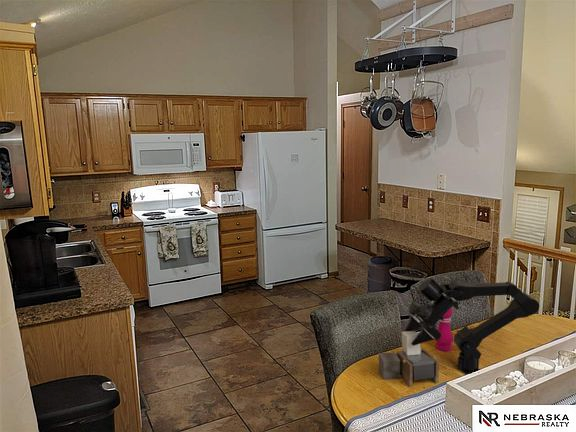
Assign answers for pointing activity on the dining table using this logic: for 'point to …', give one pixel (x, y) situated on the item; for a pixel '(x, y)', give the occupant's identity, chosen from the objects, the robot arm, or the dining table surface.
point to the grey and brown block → (421, 365)
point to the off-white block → (406, 343)
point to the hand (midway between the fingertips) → (408, 339)
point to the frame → (407, 367)
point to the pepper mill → (445, 333)
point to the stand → (389, 366)
